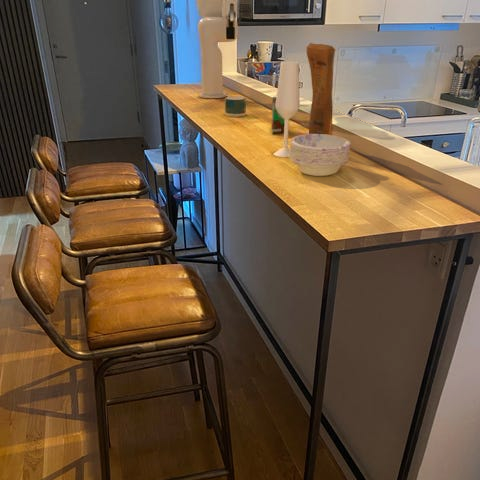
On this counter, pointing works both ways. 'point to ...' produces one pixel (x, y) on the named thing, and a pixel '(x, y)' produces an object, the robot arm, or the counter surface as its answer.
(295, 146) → the paper bowls
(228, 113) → the teal cup
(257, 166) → the counter surface
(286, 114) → the champagne flute
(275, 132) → the food container
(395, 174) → the counter surface
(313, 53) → the pancake mix bag
